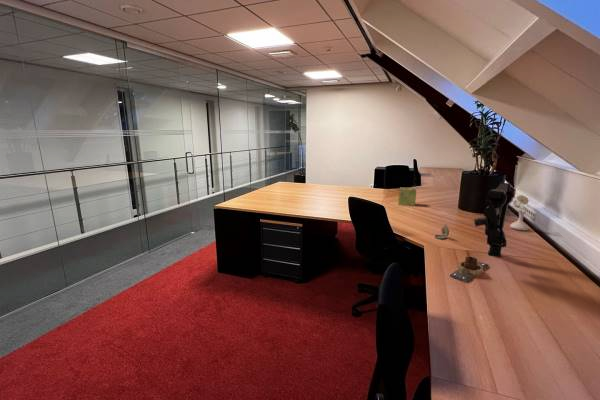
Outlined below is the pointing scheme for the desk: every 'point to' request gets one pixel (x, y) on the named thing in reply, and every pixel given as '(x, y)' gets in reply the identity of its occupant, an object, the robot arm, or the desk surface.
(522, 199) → the flower in vase
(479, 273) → the wooden ring bracket
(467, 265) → the utensil holder
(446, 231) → the pocket watch
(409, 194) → the protein box
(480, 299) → the desk surface
